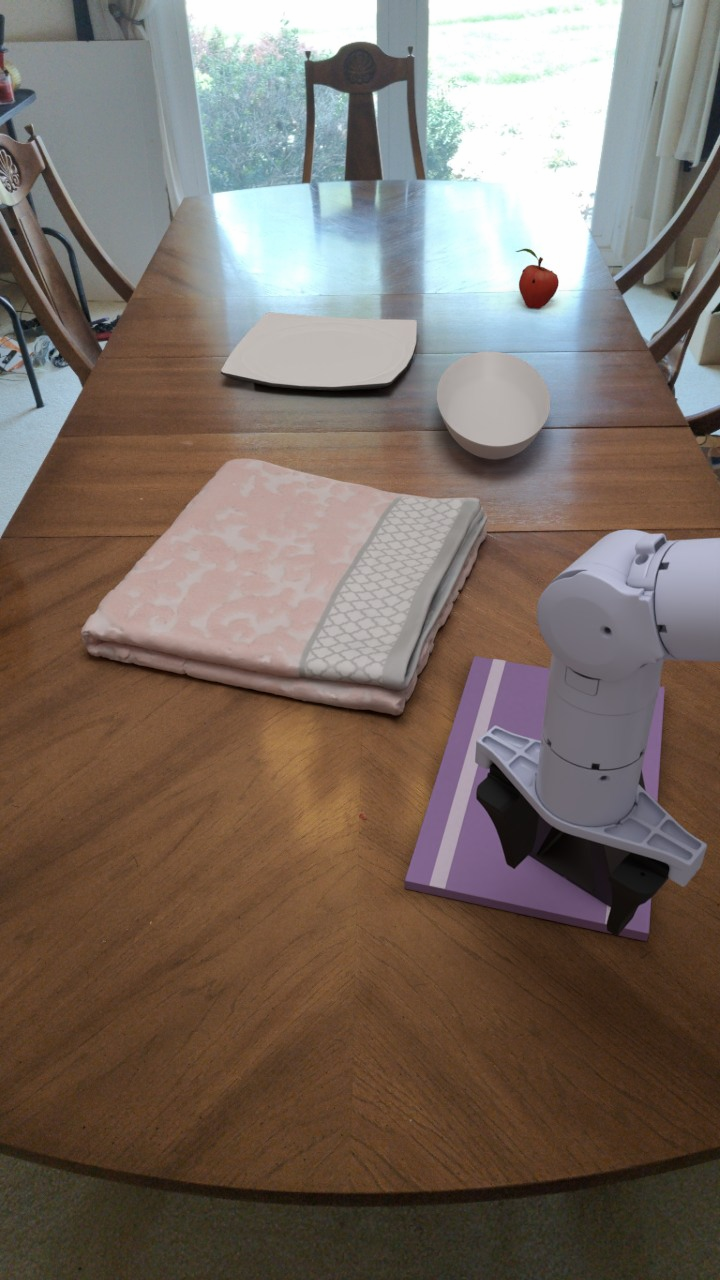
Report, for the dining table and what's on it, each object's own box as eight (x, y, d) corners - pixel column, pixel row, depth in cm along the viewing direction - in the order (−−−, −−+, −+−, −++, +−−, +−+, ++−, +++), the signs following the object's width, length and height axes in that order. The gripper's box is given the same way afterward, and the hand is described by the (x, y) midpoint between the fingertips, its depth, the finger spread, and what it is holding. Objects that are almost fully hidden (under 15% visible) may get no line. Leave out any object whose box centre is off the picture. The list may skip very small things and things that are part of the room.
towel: (406, 730, 89) (406, 681, 85) (77, 659, 98) (65, 613, 94) (491, 531, 115) (494, 488, 112) (227, 489, 124) (222, 448, 121)
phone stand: (658, 863, 75) (686, 750, 68) (616, 911, 72) (640, 797, 64) (559, 804, 80) (575, 693, 73) (515, 847, 77) (527, 734, 69)
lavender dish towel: (646, 942, 71) (649, 933, 70) (404, 888, 75) (404, 880, 74) (663, 694, 92) (665, 686, 91) (473, 663, 96) (474, 655, 95)
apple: (549, 298, 178) (555, 241, 171) (560, 312, 172) (566, 253, 166) (508, 301, 177) (512, 244, 171) (517, 314, 172) (522, 255, 165)
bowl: (436, 390, 147) (438, 350, 143) (537, 391, 146) (541, 351, 142) (433, 488, 124) (435, 444, 120) (554, 491, 122) (559, 447, 119)
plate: (262, 324, 170) (261, 309, 168) (425, 333, 165) (426, 317, 164) (210, 392, 148) (208, 375, 146) (397, 404, 143) (397, 387, 142)
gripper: (751, 757, 53) (702, 914, 61) (529, 647, 61) (513, 798, 69) (686, 832, 49) (643, 988, 57) (457, 703, 57) (449, 857, 65)
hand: (568, 889), depth 63 cm, fingers open, 7 cm apart
